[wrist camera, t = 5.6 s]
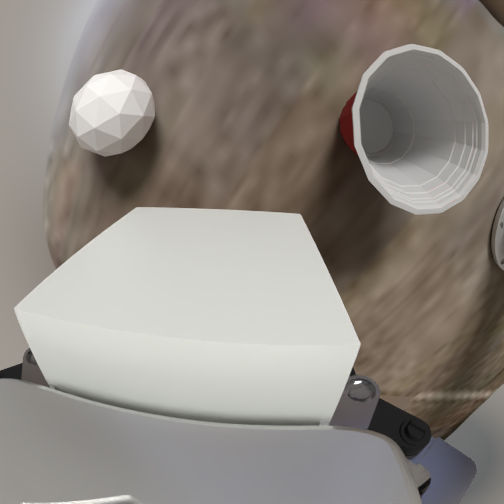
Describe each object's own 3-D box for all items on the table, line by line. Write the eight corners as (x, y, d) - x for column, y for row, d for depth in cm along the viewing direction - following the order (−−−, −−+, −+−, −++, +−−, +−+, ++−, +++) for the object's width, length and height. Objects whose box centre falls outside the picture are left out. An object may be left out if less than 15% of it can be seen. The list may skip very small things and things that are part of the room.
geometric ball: (158, 107, 27) (186, 109, 21) (105, 164, 26) (117, 183, 21) (111, 60, 21) (126, 44, 16) (54, 120, 21) (48, 124, 15)
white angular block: (300, 214, 13) (360, 344, 5) (283, 345, 16) (296, 487, 8) (136, 207, 13) (13, 308, 5) (152, 335, 16) (100, 462, 8)
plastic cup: (357, 204, 27) (412, 252, 16) (289, 114, 24) (311, 100, 13) (433, 145, 24) (512, 162, 13) (374, 55, 21) (438, 20, 10)
